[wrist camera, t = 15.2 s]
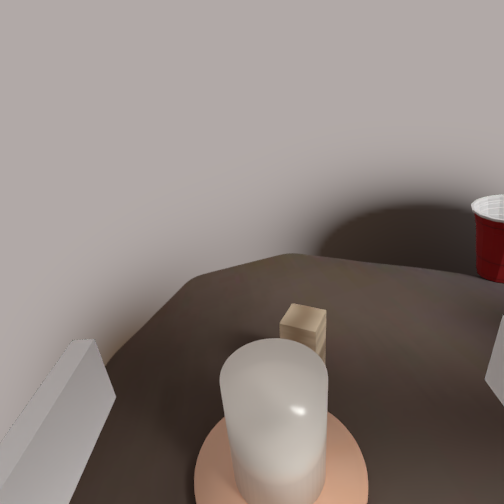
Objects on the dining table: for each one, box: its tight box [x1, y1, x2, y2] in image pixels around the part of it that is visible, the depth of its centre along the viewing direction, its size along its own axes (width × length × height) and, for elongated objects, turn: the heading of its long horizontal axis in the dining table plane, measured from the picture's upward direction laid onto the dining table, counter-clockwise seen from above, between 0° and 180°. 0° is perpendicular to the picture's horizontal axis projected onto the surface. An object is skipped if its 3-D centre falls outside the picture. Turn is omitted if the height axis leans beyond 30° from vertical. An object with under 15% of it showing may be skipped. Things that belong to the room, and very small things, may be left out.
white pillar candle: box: [220, 338, 328, 504], centre depth 29 cm, size 8×8×11 cm
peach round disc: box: [194, 411, 368, 504], centre depth 31 cm, size 15×15×1 cm
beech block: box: [279, 303, 326, 364], centre depth 40 cm, size 4×4×8 cm
